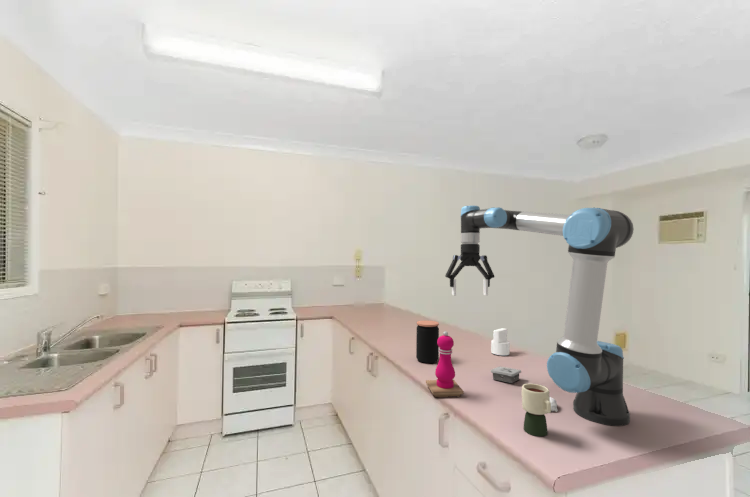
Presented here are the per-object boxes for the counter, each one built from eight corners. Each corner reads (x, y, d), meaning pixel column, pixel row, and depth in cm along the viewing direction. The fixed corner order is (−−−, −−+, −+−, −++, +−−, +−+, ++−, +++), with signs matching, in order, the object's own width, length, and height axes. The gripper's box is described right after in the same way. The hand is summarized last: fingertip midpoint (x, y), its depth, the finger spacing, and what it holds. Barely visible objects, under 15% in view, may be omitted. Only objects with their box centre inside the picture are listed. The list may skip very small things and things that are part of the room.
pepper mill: (459, 387, 125) (459, 332, 125) (442, 390, 122) (442, 334, 122) (447, 380, 131) (448, 328, 131) (431, 383, 129) (432, 329, 129)
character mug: (560, 441, 94) (560, 394, 94) (539, 445, 92) (539, 397, 92) (531, 422, 104) (532, 379, 105) (512, 425, 102) (512, 382, 102)
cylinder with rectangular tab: (496, 349, 184) (497, 327, 185) (512, 353, 178) (512, 330, 178) (487, 352, 179) (487, 329, 179) (503, 356, 172) (503, 332, 172)
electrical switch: (513, 374, 133) (490, 365, 140) (511, 387, 133) (488, 378, 140) (522, 370, 140) (500, 362, 146) (520, 382, 140) (498, 374, 147)
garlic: (557, 416, 109) (557, 404, 109) (533, 411, 113) (534, 399, 113) (558, 407, 116) (558, 395, 116) (536, 402, 119) (536, 391, 119)
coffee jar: (442, 359, 166) (442, 322, 166) (433, 365, 157) (433, 325, 157) (421, 355, 172) (422, 319, 172) (412, 361, 163) (412, 323, 163)
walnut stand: (463, 398, 121) (463, 391, 121) (433, 399, 121) (433, 391, 121) (453, 386, 132) (453, 379, 132) (425, 386, 131) (425, 380, 132)
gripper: (494, 244, 147) (494, 293, 146) (438, 243, 143) (437, 294, 143) (503, 243, 139) (502, 296, 139) (443, 242, 136) (443, 296, 136)
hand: (469, 295), depth 141 cm, fingers open, 13 cm apart
